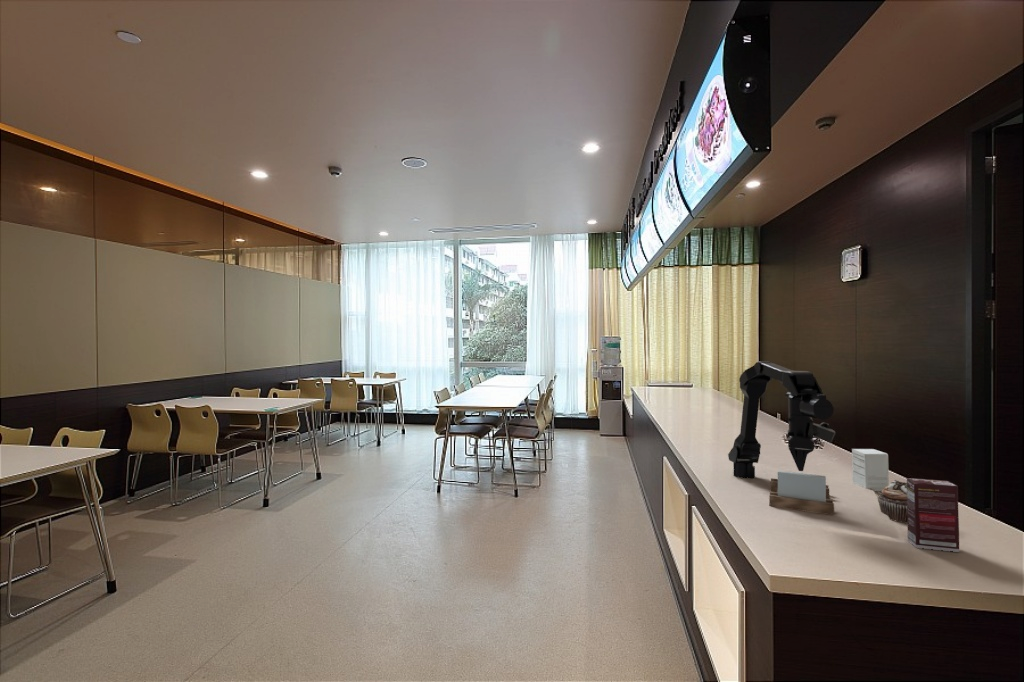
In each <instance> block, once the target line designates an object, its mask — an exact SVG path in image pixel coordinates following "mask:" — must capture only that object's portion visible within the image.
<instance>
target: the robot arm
mask: <svg viewBox="0 0 1024 682" xmlns="http://www.w3.org/2000/svg"><path fill="white" fill-rule="evenodd" d="M773 379H774V380H775V381H778V382H780V383H781V386H782V387H783V388H784V389H786V390H787V392H786V393H785V394H784V397H785V398H787V399H788V429H787V447H788V450H789V451H790V455H791V456H792V459H793V462H794V463H795V466H796V468H797V470H798V472H804V469H805V464H806V460H807V457H808V455H809V454H810V453H812V452H814V451H815V441H814V439H812V438H814V437H816V438H819V439H821V440H824V441H825V442H827V443H830V444H831V443H832V442H833V439H834V437H835V435H836V431H835V429H834V430H833V429H832V428H830V424H829V423H827V422H825V421H826V420H829V419H830V418H831V417H832V416H833V415H834V411H835V409H834V405H833V403H832V402H831V401H830V400H829V399H827V395H826V394H823V393H824V392H823V389H822V388H821V387H820V384H819V383H818V380H817V378H816V377H815V374H814V373H813V372H811V371H806V370H792V369H789V368H787V367H784V366H782V365H779V364H776V363H774V362H773V361H770V360H769V361H767V360H764V361H763V360H762V361H761V360H760V361H757V362H755V364H754V365H753V366H751V367H748V368H747V369H745V370H744V371H743V372H742V373H741V374H740V376H739V379H738V380H739V389H740V391H741V392H742V395H743V404H742V414H741V420H740V421H741V422H740V432H739V435H737V436H736V438H734V442H733V446H732V448H731V449H730V451H729V452H728V453H727V456H728V461H730V462H732V463H733V477H736V478H741V479H756V466H755V465H754V464H758V463H759V460H760V455H761V447H762V445H761V442H759V441H758V439H757V437H756V435H757V426H758V425H757V424H758V417H759V416H758V415H759V409H760V408H759V407H760V399H761V397H762V396H763V395H764V394H765V393H766V392H767V387H768V384H769V383H770V382H771V381H772V380H773ZM813 418H814V419H817V420H823V421H822V422H821V423H820V424H819V423H815V422H814V420H813Z"/></svg>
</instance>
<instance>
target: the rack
mask: <svg viewBox="0 0 1024 682" xmlns="http://www.w3.org/2000/svg"><path fill="white" fill-rule="evenodd" d="M777 491H778V478H774V477H773V478H770V491H769V497H768V499H769V507H775V508H783V509H790V510H796V511H797V510H798V511H803V512H810V513H816V514H817V513H818V514H821V515H822V514H825V515H830V516H835V504H834V499H830V487H829V485H828V484H826V502H820V501H813V500H805V499H798V498H791V497H784V496H778V492H777Z"/></svg>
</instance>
